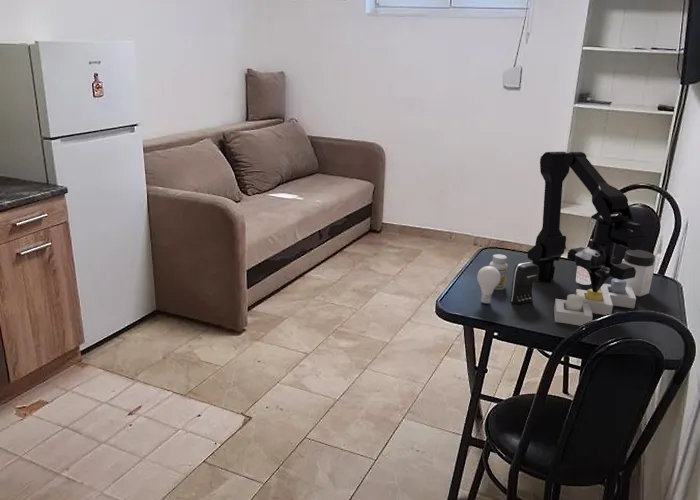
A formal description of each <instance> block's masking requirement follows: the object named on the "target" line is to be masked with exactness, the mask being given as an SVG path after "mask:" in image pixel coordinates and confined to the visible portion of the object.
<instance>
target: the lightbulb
mask: <svg viewBox="0 0 700 500" xmlns="http://www.w3.org/2000/svg"><path fill="white" fill-rule="evenodd" d="M476 277H477V278H476V279H477V283H478V284H479V286H480V291H481V298H480V301H481V302H482V303H483V304H485V305H487V304H490V303H491V302H492V294H493V293H494V291H495V288H496V286H497V285H498V284H499V283H500V280H501V275H500V272H499V271H498V269H496V268H495V267H493V266H489V265H486V266H483V267H481V268H480V269H479V270H478V272H477V276H476Z"/></svg>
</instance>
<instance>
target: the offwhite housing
mask: <svg viewBox="0 0 700 500" xmlns="http://www.w3.org/2000/svg"><path fill="white" fill-rule="evenodd" d="M566 302H567V299H559V298H555V301H554V306H553V312H554V322H555V323H562V324H569V325H575V326H581V325H583V324H585V323H587V322H589V321H592V322H593V313H592V311H591V306H590V304H589V303H582V309H581V312H577V311H570V310H565V308H566ZM581 327H582V326H581Z"/></svg>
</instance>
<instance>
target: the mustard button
mask: <svg viewBox="0 0 700 500" xmlns="http://www.w3.org/2000/svg"><path fill="white" fill-rule="evenodd" d="M602 294H603V292H602V291H600V290H598V292H593V290H592V288H589V289H587V296H586V299H588V300H595V301H601V299H602Z"/></svg>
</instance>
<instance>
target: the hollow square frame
mask: <svg viewBox="0 0 700 500" xmlns="http://www.w3.org/2000/svg"><path fill="white" fill-rule="evenodd" d="M587 291H588V289H587V290H585V289H578V288H576V289H575V293H574V294H575V295H579V296H582V297H583V303H589V304H590V306H591V311H592V314H598V315H603V316H608V315H607V314H611V315H612V313H613V308H614V305H613V304H612V301H611V297H610V295H606V294H602V299H601V301H595V300H588V299H586V296H587Z"/></svg>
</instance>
